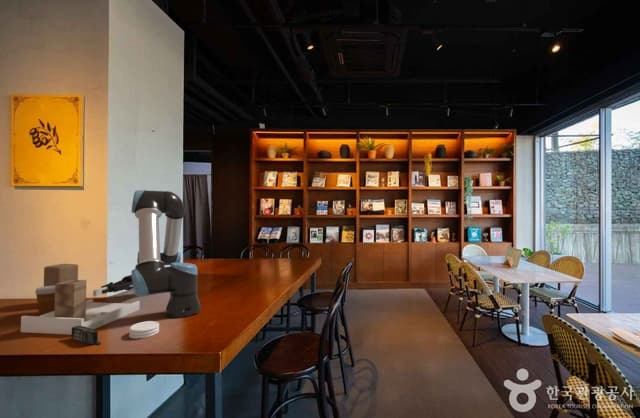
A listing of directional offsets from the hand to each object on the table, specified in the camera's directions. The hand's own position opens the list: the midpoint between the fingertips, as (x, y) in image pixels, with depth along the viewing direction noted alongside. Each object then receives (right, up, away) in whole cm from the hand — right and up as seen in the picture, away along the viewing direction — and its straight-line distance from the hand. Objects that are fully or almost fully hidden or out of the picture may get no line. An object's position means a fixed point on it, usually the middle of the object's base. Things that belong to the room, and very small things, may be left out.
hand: (94, 293), depth 132 cm
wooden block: (-31, -11, +17) cm, 37 cm away
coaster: (+35, -10, -20) cm, 41 cm away
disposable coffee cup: (-24, -10, +3) cm, 27 cm away
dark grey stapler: (+18, -10, -27) cm, 34 cm away
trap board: (0, -10, -4) cm, 11 cm away
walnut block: (+1, -7, -14) cm, 16 cm away
